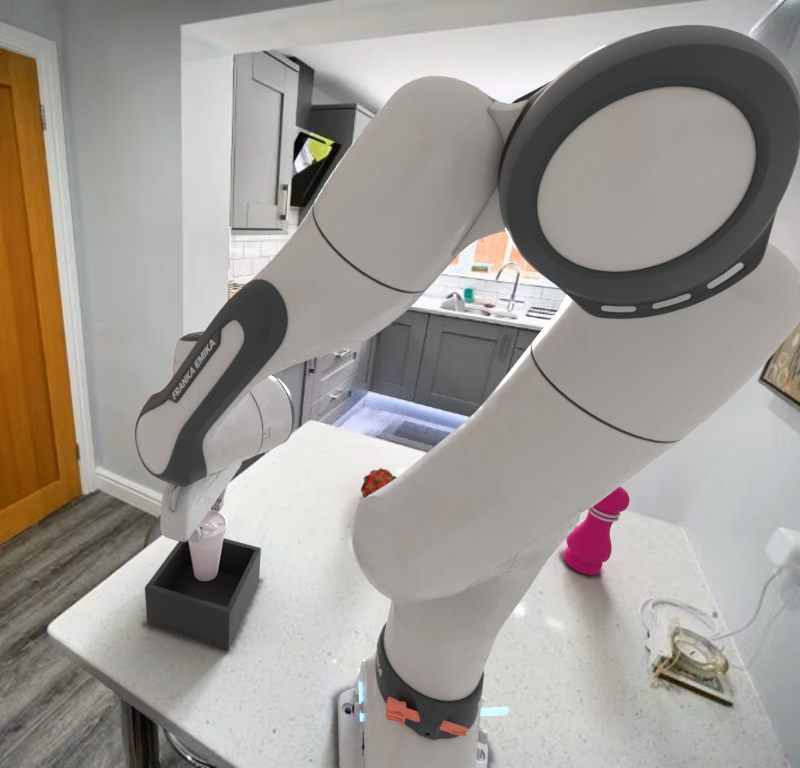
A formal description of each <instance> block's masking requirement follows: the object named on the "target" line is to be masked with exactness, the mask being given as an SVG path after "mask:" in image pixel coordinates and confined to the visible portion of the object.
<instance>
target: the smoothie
mask: <svg viewBox="0 0 800 768" xmlns="http://www.w3.org/2000/svg"><path fill="white" fill-rule="evenodd" d="M227 520H228V519H227V517H225V515H224V514H223V513H221V512H220V511H219V512H216V511H212V510H209V511H208V513H207V514H206V516H205V517H204V519H203V520H202V521H201V523H200V525H199V526H201V527H203V536H202V538H201V539H200V541H199V542H198V543H195V542H192V541H189V540H188V542H189V547H190V553H191V559H192V564H193V570H194V575H195V577H196V578H197V579H198V580H200V581H209V580H212V579H213V578H215V577H216V575H217V573H218V567H219V561H220V555H221V550H222V544H223V539H224V538H225V535H226V533H227V531H228V521H227Z"/></svg>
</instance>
